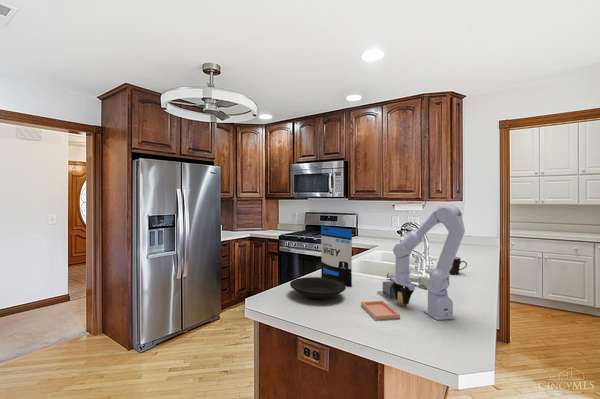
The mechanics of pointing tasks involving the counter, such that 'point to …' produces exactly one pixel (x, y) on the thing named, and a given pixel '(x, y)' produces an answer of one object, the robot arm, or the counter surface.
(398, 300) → the cylinder
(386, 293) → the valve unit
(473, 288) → the counter surface
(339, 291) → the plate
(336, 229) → the protein powder
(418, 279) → the pale grey long piece
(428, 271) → the showerhead
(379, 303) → the terracotta tray
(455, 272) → the coffee mug
